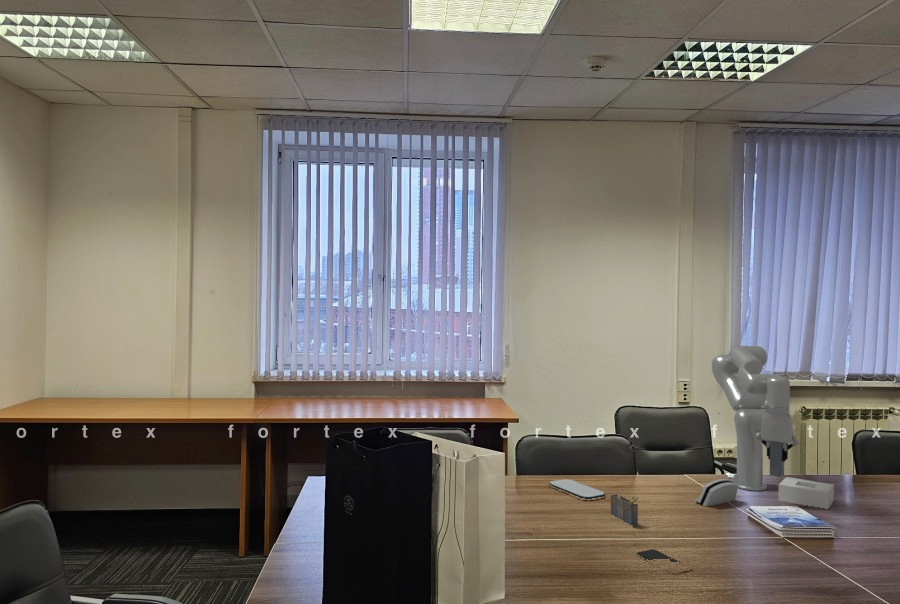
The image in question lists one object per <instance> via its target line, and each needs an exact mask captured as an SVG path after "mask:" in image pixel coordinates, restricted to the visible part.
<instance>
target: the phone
mask: <svg viewBox="0 0 900 604" xmlns="http://www.w3.org/2000/svg"><path fill="white" fill-rule="evenodd" d="M637 554H638V555H640V556H642V557H643V558H645V559H648V560H653V559H668V558H669V559H670V561H671V562H677V561H678V560H677V559H675V558H673V557H671V556H669V555H667V554H665V553H664V552H661V551H660V550H659V551H658V550H656V549H646V550H642V551H638V552H636V555H637ZM671 558H672V559H671ZM654 561H655V560H654ZM679 563H682V562H681V561H679ZM682 564H684V563H682Z"/></svg>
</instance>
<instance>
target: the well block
mask: <svg viewBox="0 0 900 604" xmlns="http://www.w3.org/2000/svg"><path fill="white" fill-rule="evenodd" d="M833 500H835V484H832V483H826V482H822V481H821V482H819V481H814V480H808V479H802V478H797V477H789V476H786V477H784V478H783V480H781V481H780V483H778V501H781V502H785V503H791V504H796V505H801V504H802V506H806V505H808V506H807V507H811V506H814V507H813V508H817V507H820V508H819V509H822V508H825V509H824V510H827V509H828V508H829V509H830V507H831V506H832V504H833V503H834V501H833ZM832 502H833V503H832ZM830 505H831V506H830Z"/></svg>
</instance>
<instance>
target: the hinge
mask: <svg viewBox="0 0 900 604" xmlns="http://www.w3.org/2000/svg"><path fill="white" fill-rule="evenodd" d="M738 489H739V488H738V486H737V485H736V484H735V483H733V480H731V479H729V478H727V479H726V478H719V479H715V480H713V481H710V482H709V483H706V484H705V485H704V486H703V488H702V491H701V493H700V494H699V497H697V498H695V500H694V504H698V503H699V504H702V506H703V507H704V506H706V507H705V508H707V506H708V507H711V506H716V505H722V504H725V503H730V502H735V500H736V496H737V492H738Z"/></svg>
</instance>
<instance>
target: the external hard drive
mask: <svg viewBox="0 0 900 604" xmlns="http://www.w3.org/2000/svg"><path fill="white" fill-rule="evenodd" d="M549 484H550V485H552V486H554V487H556V488H558V489H561V490H564V491H566V492H568V493H571V494H573V495H575V496H578V497H580V498H585V499H592V498H598V497H603V496H605V497H606V493H605V491H602V490H599V489H597V488H594V487H591V486H589V485H586V484H584V483H581V482H578V481H576V480H573V479H569V478H566V479H565V478H564V479H556V480H551V481H549ZM549 484H548V485H549Z"/></svg>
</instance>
